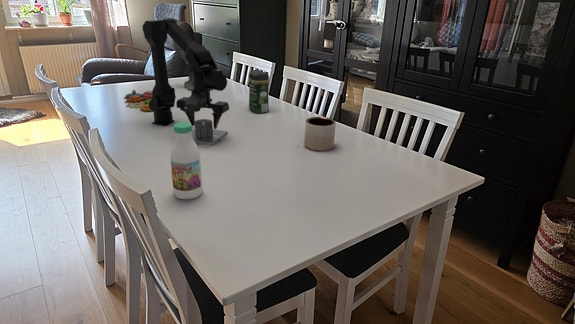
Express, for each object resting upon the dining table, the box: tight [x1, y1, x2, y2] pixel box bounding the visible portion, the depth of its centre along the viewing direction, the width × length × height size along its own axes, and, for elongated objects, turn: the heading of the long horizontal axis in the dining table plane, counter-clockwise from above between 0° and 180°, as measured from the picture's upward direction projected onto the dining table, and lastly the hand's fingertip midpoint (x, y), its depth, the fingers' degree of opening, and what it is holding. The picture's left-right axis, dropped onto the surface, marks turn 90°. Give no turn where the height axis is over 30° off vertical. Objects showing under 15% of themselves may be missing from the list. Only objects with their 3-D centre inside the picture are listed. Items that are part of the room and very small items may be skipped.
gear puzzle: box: [123, 89, 153, 112], centre depth 182 cm, size 31×16×4 cm, turn 26°
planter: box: [303, 116, 337, 152], centre depth 139 cm, size 11×11×10 cm
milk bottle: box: [169, 121, 203, 200], centre depth 102 cm, size 8×8×20 cm
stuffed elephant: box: [172, 39, 217, 91], centre depth 208 cm, size 19×21×27 cm
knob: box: [194, 118, 214, 138], centre depth 144 cm, size 7×7×5 cm
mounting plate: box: [192, 128, 229, 146], centre depth 144 cm, size 13×13×5 cm
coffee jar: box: [248, 69, 270, 114], centre depth 174 cm, size 10×8×19 cm
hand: (204, 127), depth 144 cm, fingers open, 9 cm apart
